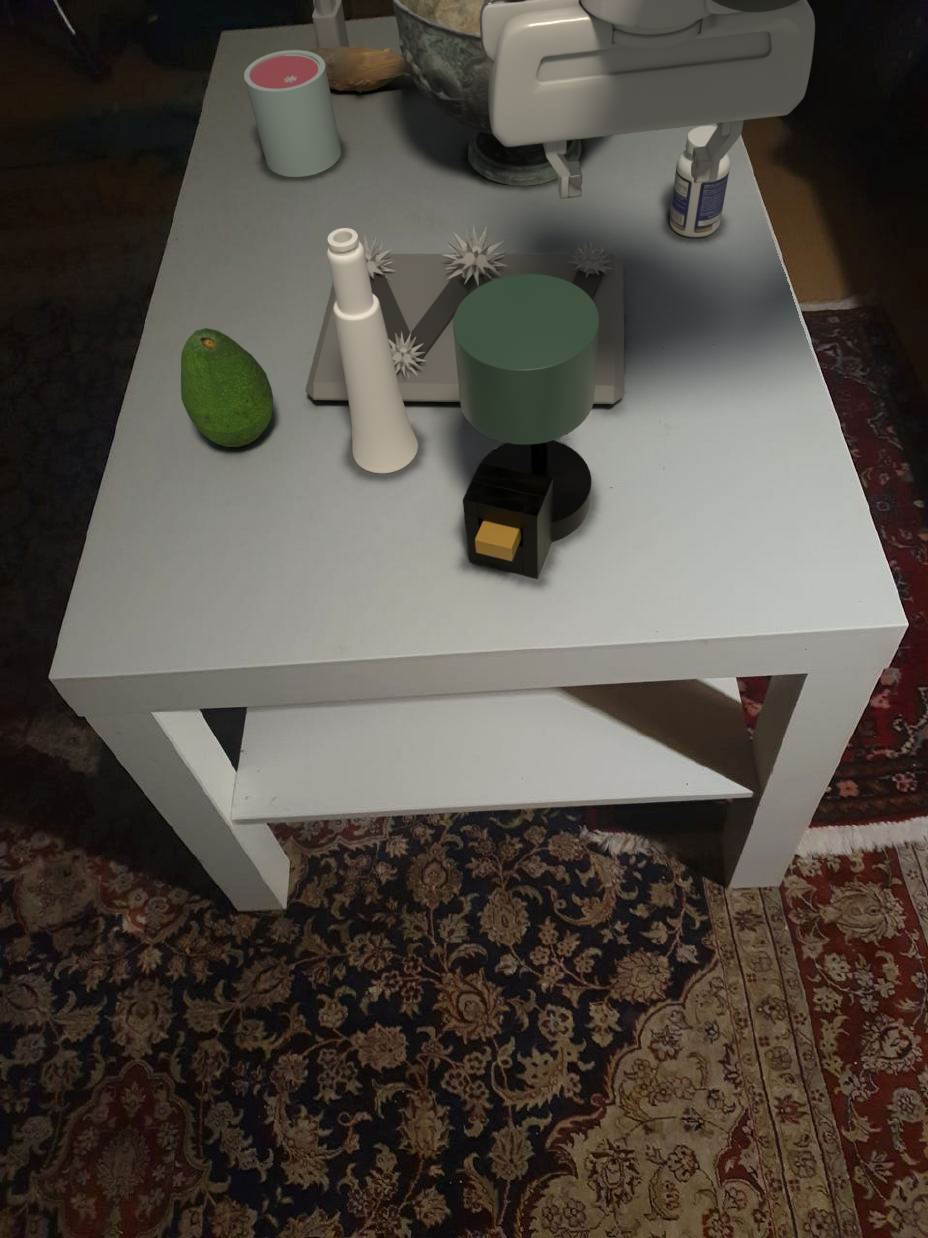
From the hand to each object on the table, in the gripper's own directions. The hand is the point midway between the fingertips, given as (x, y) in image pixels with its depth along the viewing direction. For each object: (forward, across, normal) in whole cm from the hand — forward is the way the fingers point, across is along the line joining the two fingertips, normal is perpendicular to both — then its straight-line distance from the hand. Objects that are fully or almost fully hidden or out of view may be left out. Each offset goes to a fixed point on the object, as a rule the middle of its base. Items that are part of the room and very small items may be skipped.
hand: (636, 185), depth 65 cm
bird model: (+23, -21, +64) cm, 72 cm away
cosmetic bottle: (+24, -21, 0) cm, 32 cm away
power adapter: (+23, -26, +72) cm, 79 cm away
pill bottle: (+24, +13, +28) cm, 39 cm away
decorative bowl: (+24, -3, +45) cm, 51 cm away
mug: (+23, -30, +53) cm, 65 cm away
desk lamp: (+23, -9, -9) cm, 27 cm away
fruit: (+24, -35, +4) cm, 42 cm away
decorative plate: (+24, -12, +14) cm, 30 cm away
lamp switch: (+19, -12, -16) cm, 28 cm away
